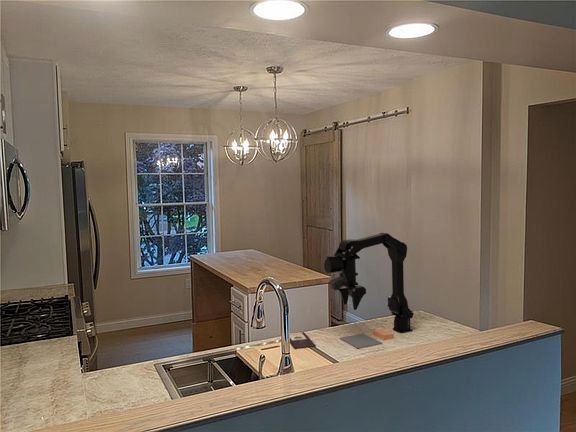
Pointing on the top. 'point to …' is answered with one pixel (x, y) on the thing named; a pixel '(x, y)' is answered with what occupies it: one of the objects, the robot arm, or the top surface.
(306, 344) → the chocolate bar
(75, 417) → the top surface
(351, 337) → the mat
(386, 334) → the tile
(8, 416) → the top surface
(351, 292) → the robot arm
